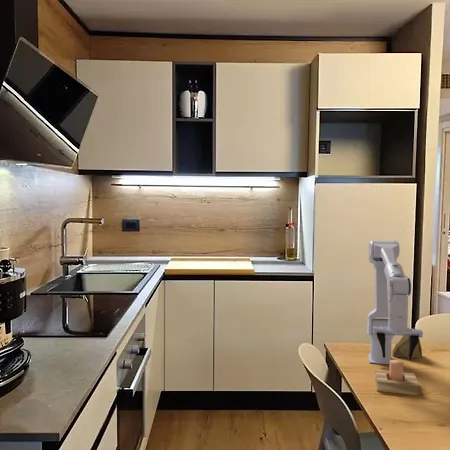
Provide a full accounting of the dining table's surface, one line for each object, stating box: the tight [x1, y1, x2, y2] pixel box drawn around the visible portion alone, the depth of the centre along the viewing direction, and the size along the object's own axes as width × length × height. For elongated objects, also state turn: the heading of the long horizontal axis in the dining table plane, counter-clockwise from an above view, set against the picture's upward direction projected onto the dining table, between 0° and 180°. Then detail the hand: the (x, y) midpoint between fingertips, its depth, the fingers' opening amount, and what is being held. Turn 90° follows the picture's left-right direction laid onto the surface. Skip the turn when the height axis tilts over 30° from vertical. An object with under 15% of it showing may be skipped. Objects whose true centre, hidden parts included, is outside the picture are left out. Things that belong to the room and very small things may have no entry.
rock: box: [391, 336, 423, 359], centre depth 180 cm, size 11×9×10 cm
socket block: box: [374, 369, 420, 396], centre depth 150 cm, size 10×12×3 cm
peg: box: [389, 359, 404, 381], centre depth 150 cm, size 4×4×8 cm
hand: (396, 357), depth 150 cm, fingers open, 7 cm apart
